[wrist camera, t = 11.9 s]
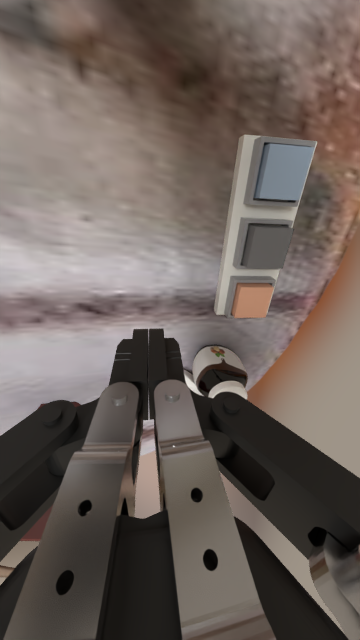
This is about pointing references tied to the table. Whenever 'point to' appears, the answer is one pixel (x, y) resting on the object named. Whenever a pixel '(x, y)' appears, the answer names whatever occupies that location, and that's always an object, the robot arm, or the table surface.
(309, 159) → the slate key
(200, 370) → the spread jar
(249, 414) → the robot arm
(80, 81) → the table surface
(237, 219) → the key panel
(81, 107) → the table surface
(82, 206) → the table surface
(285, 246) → the charcoal key
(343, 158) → the table surface
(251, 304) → the terracotta key
